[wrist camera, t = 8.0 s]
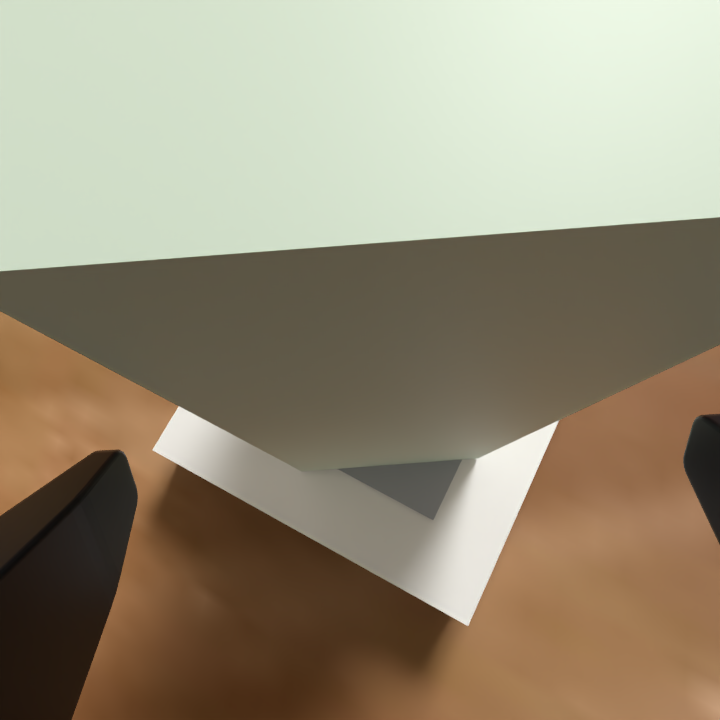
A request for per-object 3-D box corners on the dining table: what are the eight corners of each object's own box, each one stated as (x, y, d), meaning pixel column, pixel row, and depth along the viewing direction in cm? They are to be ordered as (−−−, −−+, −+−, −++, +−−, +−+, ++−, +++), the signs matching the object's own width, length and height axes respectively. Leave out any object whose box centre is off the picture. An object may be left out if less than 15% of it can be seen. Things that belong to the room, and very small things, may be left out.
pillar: (478, 458, 16) (1041, 191, 3) (301, 471, 16) (-67, 275, 3) (457, 292, 17) (763, -471, 4) (294, 305, 17) (21, -413, 4)
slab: (454, 609, 18) (468, 626, 15) (180, 457, 19) (151, 449, 16) (579, 333, 20) (609, 307, 17) (324, 214, 21) (318, 174, 18)
